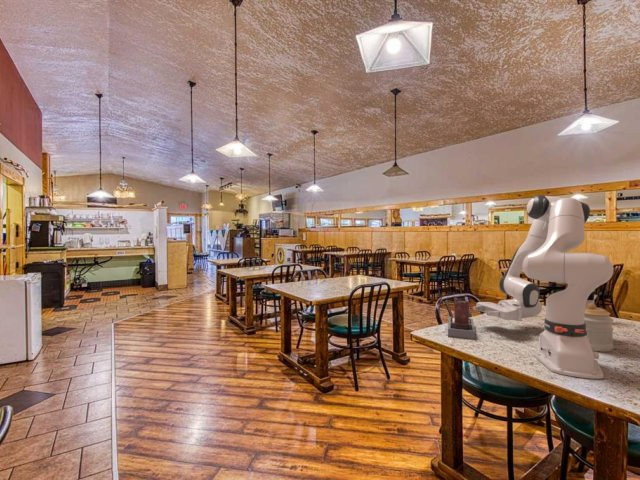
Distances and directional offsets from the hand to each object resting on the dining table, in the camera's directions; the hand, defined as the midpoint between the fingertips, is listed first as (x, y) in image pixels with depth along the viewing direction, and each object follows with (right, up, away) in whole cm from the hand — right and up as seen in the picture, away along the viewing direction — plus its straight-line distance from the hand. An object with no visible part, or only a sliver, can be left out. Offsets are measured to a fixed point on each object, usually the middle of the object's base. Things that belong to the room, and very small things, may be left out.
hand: (480, 311), depth 148 cm
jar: (+35, -10, -19) cm, 41 cm away
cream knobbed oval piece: (-6, -9, +8) cm, 13 cm away
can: (-9, -9, 0) cm, 13 cm away
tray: (-8, -10, +3) cm, 13 cm away
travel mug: (+42, -10, -7) cm, 44 cm away
